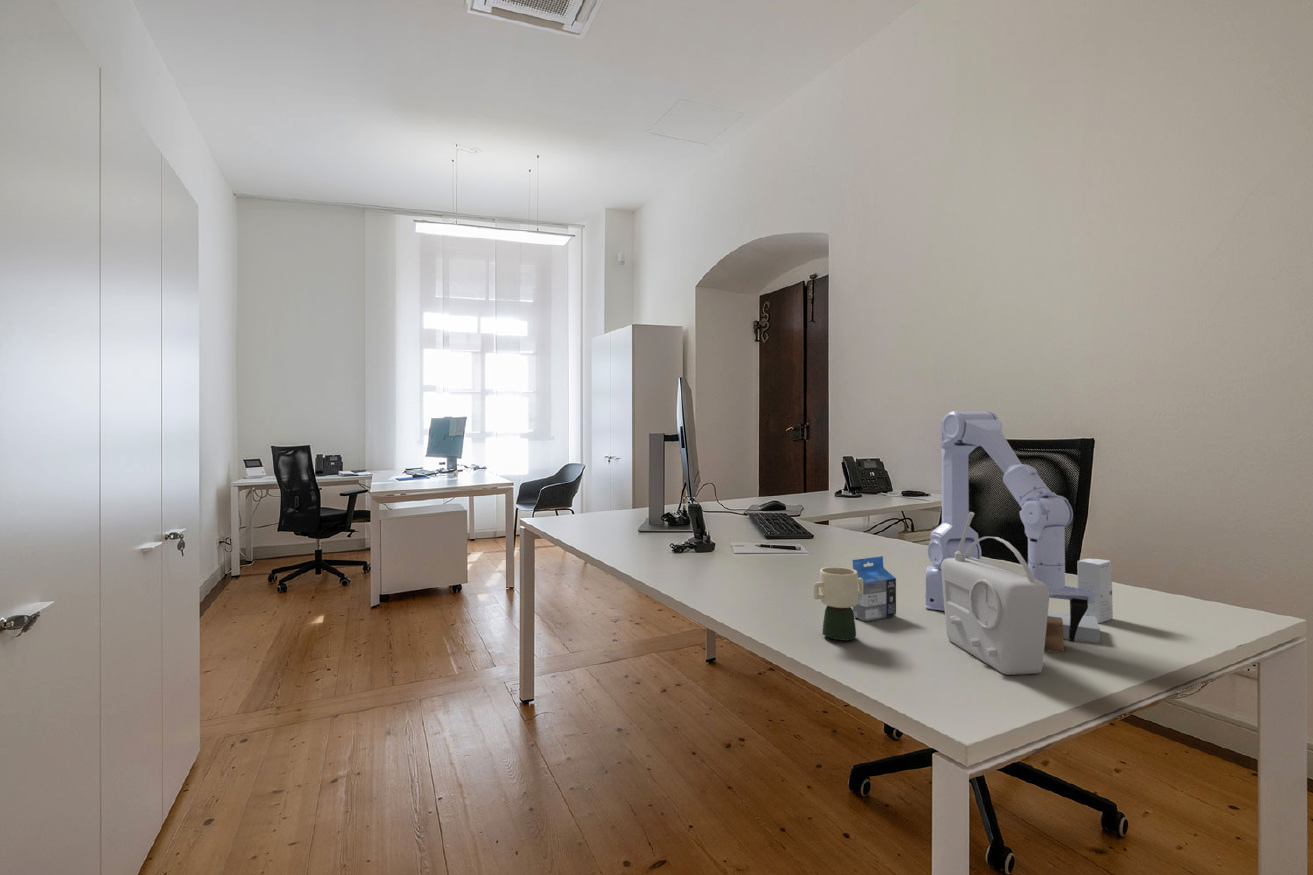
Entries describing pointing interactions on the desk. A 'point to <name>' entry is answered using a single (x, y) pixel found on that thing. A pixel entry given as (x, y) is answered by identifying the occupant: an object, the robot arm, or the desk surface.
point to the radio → (995, 610)
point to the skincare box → (1097, 586)
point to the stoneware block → (1080, 627)
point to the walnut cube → (1054, 634)
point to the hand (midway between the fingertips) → (1046, 636)
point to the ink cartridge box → (875, 590)
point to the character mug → (839, 600)
